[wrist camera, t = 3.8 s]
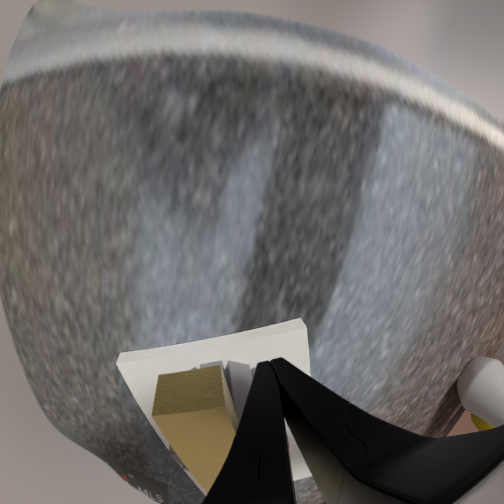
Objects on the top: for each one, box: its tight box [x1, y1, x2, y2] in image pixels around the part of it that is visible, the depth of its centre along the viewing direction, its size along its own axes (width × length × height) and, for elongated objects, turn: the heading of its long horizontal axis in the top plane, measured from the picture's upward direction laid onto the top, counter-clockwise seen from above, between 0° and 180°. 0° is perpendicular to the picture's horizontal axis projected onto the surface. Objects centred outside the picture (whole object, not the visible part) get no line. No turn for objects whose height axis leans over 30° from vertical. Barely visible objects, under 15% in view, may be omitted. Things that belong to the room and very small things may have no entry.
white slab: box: [116, 318, 312, 496], centre depth 14 cm, size 17×10×5 cm, turn 10°
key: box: [151, 365, 239, 493], centre depth 11 cm, size 12×2×6 cm, turn 10°
